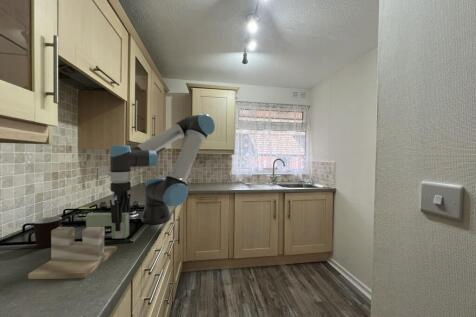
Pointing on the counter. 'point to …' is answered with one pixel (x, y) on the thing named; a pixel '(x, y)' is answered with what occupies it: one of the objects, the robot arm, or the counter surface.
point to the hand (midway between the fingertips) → (121, 236)
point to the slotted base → (70, 267)
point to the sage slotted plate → (107, 222)
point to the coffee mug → (45, 230)
